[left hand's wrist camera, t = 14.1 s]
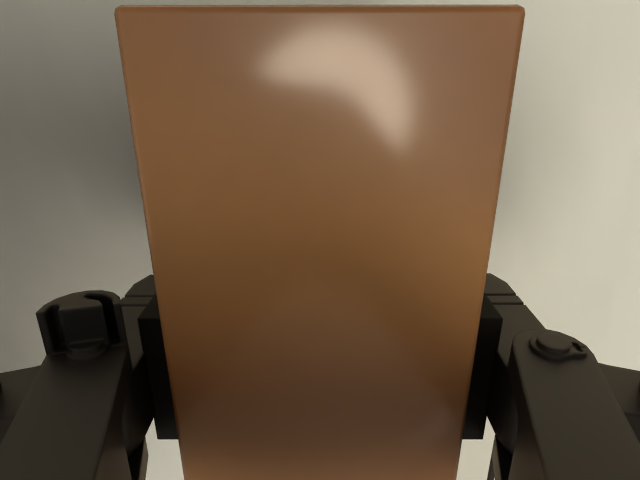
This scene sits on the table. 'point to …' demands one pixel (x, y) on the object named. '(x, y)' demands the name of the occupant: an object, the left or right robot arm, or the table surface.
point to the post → (319, 226)
